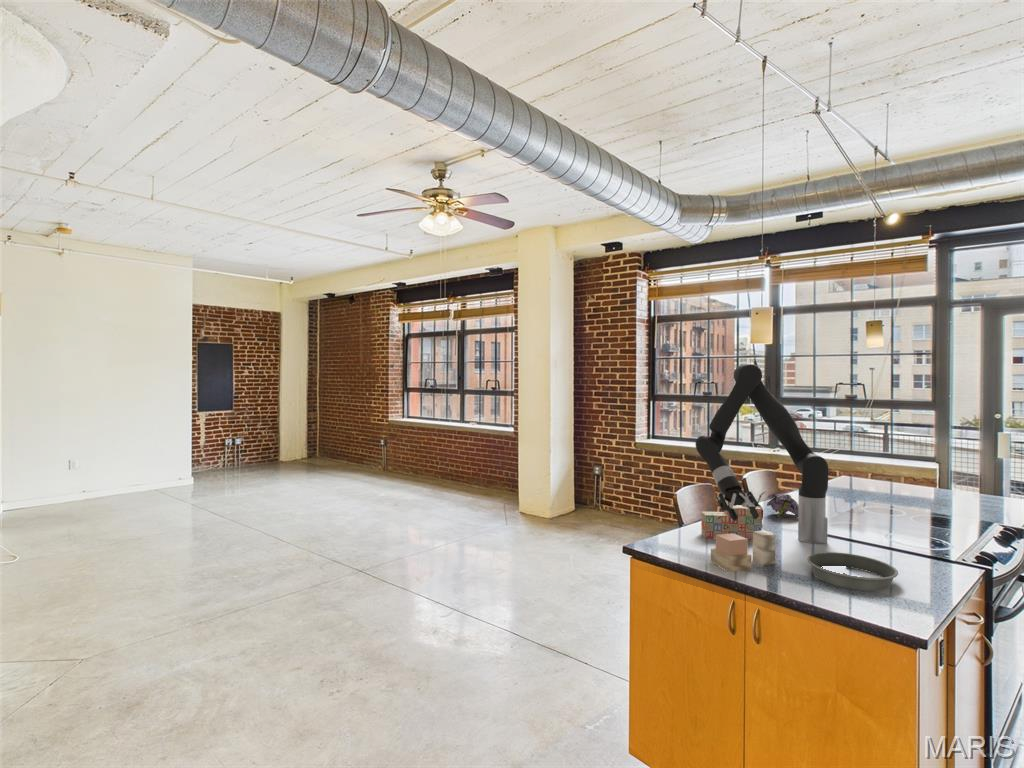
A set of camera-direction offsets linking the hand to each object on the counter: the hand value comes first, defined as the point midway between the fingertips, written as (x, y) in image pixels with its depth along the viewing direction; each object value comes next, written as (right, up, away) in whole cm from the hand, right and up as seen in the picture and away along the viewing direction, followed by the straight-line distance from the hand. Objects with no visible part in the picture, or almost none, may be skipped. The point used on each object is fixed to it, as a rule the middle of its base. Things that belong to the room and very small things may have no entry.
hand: (746, 518), depth 200 cm
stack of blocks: (+3, -13, +21) cm, 25 cm away
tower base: (-10, -13, -12) cm, 21 cm away
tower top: (-10, -8, -12) cm, 18 cm away
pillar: (+2, -13, -8) cm, 15 cm away
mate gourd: (+21, -12, +40) cm, 47 cm away
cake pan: (+23, -13, -23) cm, 35 cm away
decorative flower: (+39, -12, +53) cm, 66 cm away
